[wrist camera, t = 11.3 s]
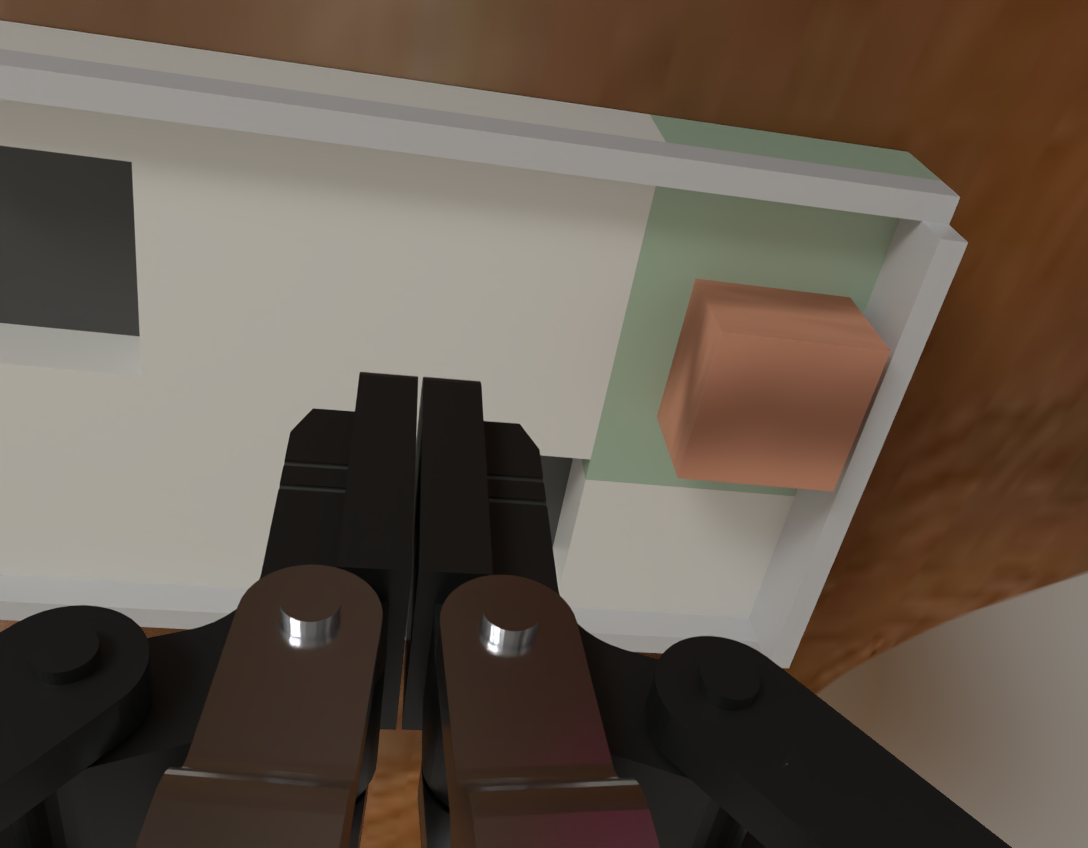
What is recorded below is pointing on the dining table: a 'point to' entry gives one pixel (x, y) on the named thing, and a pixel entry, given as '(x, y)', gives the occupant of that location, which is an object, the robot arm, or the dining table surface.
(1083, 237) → the dining table surface
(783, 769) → the robot arm
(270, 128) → the box
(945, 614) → the dining table surface
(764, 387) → the block
